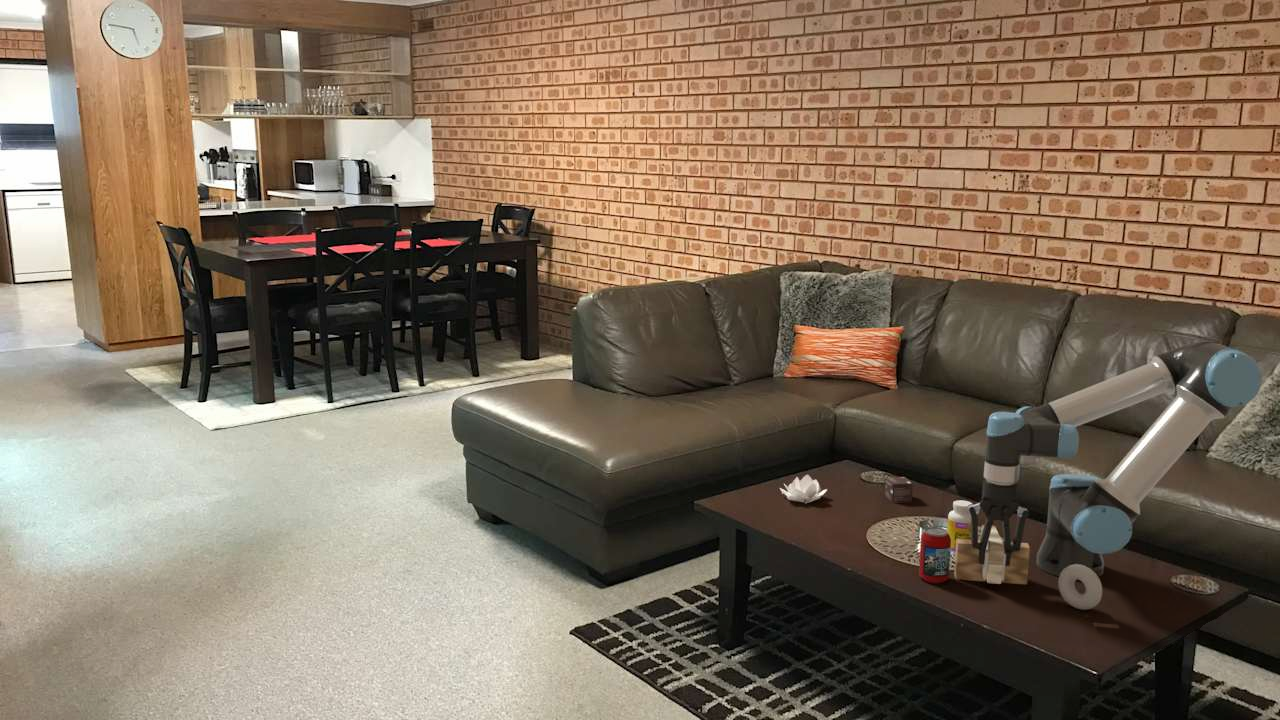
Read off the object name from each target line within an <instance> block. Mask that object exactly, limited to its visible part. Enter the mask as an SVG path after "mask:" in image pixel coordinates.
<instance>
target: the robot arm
mask: <svg viewBox="0 0 1280 720" xmlns="http://www.w3.org/2000/svg"><path fill="white" fill-rule="evenodd" d="M1262 379H1263V377H1262V370H1261V368H1260V366H1259V364H1258V362H1256V360H1255V359H1254V358H1252V356H1250V355H1248V354H1246V353H1245V352H1243V351H1241V350H1240V349H1237V348H1231V347H1230V346H1226V345H1225V344H1221V343H1219V342H1216V341H1212V340H1199V341H1194V342H1193V341H1192V342H1190V343H1187V344H1184V345H1181V346H1177V347H1175V348H1172V349H1170V350H1168V351H1167V350H1166V351H1165V352H1163V353H1160V354H1157V355H1155V356H1152V359H1151V360H1150V362H1149V363H1146V364H1144V365H1141V366H1139V367H1136V368H1134V369H1132V370H1129V371H1126V372H1124V373H1121V374H1119V375H1116V376H1114V377H1111V378H1108V379H1106V380H1103V381H1101V382H1098V383H1095V384H1093V385H1091V386H1088V387H1086V388H1083V389H1081V390H1077V391H1075V392H1073V393H1070V394H1068V395H1064V396H1063V397H1061V398H1058V399H1056V400H1052V401H1050V402H1048V403H1045V404H1042V405H1040V406H1037V407H1034V406H1029V405H1027V406H1026V405H1025V406H1023V407H1020V408H1019V409H1017V410H1016V412H1011V411H1010V412H1009V411H996V412H992V413H991V414H990V415H989V417H988V422H987V428H986V432H985V433H986V437H985V438H986V440H985V442H986V443H985V458H984V466H983V467H984V468H983V481H982V491H981V492H982V493H981V498H980V499H979V502H978V503H975V504H973V503H972V504H973V505H972V504H970V505H968V509H969V511H970V514H971V543H972V546H973V548H975V549H978V550H979V558H978V560H979V563H980V564H983V568H982V576H983V579H986V580H987V572H988V560H989V551H988V549H986V548H987V544H988V540H989V536H990V532H991V528H992V526H994V521H1001V523H1002V524H1001V525H1002V534H1003V535H1002V537H1003V542H1004V548H1005V550H1004V556H1003V569H1002V581H1004V574H1005V566H1009V565H1010V558H1011V554H1012V552H1014V551H1017V552H1018V551H1019V550H1020V546H1021V543H1022V541H1023V540H1022V539H1023V534H1024V528H1025V524H1026V520H1027V519H1028V517H1029V515H1030V511H1028V508H1027V507H1022V506H1020V505H1019V503H1018V501H1017V500H1018V499H1017V498H1018V490H1019V484H1018V481H1019V480H1020V479H1019V478H1020V476H1019V475H1020V464H1021V457H1035V458H1036V457H1037V458H1038V457H1039V458H1058V459H1060V458H1072V457H1074V456H1076V454H1077V453H1078V450H1079V446H1080V445H1079V444H1080V442H1079V441H1080V438H1079V432H1078V429H1077V427H1080V426H1081V425H1082V426H1083V424H1087V423H1089V422H1092V421H1095V420H1097V419H1100V418H1102V417H1105V416H1107V415H1110V414H1113V413H1115V412H1118V411H1121V410H1123V409H1126V408H1129V407H1132V406H1134V405H1137V404H1138V403H1141V402H1143V401H1146V400H1149V399H1152V398H1154V397H1157V396H1159V395H1163V394H1168V395H1175V394H1176V397H1175V398H1174V399H1173V400H1172V401H1171V402H1170V403H1169V404H1168V406H1166V408H1165V409H1164V410H1163V412H1162V413H1161V414H1160V415H1159V416H1158V417H1157V418H1156V420H1155V421H1154V422H1153V423H1152V425H1151V426H1150V427H1149V428H1148V429H1147V430H1146V431H1145V432H1144V434H1143V435H1142V436H1141V437H1140V439H1139V440H1138V441H1137V442H1136V443H1135V444H1134V445H1133V447H1132V448H1131V449H1130V450H1129V451H1128V452H1127V454H1126V455H1125V456H1124V457H1123V458H1122V459H1121V461H1119V463H1118V464H1117V465H1116V466H1115V468H1114V469H1113V470H1112V471H1111V472H1110V474H1109V475H1108V476H1107V477H1106V478H1103V479H1101V478H1100V477H1098V476H1093V475H1087V474H1077V473H1063V474H1061V473H1060V474H1055V475H1054V476H1052V478H1051V480H1050V484H1049V485H1050V486H1049V488H1048V490H1049V493H1048V494H1049V495H1048V496H1049V497H1048V507H1047V508H1048V509H1047V520H1046V521H1047V522H1046V533H1045V536H1044V538H1043V541H1041V542H1042V543H1041V544H1040V546H1039V549H1038V551H1037V553H1036V562H1035V563H1036V566H1037V568H1039V569H1040V570H1042V571H1043V572H1046V573H1048V574H1050V575H1053V576H1058V577H1059V576H1060V574H1061V572H1062V571H1063V569H1065V568H1066V567H1068V566H1069V565H1074V564H1079V565H1084V566H1086V567H1088V568H1090V569H1091V570H1092V571H1093V572H1094V573H1096V575H1097V576H1098V578H1100V577H1101V576H1103V575H1104V571H1105V570H1104V569H1105V562H1104V557H1103V555H1105V554H1107V555H1108V554H1113V553H1115V552H1118V551H1120V550H1122V549H1123V548H1124V547H1125V546H1126V545H1127V544H1128V543H1129V542H1130V539H1131V538H1132V535H1133V523H1134V521H1136V519H1137V518H1139V516H1140V515H1141V508H1140V504H1141V502H1142V501H1143V500H1144V499H1145V498H1146V496H1147V495H1148V494H1149V493H1150V492H1151V490H1152V489H1154V487H1155V486H1156V485H1157V483H1158V482H1160V480H1161V479H1162V478H1163V477H1164V476H1165V475H1166V473H1168V471H1169V470H1170V469H1171V468H1172V466H1173V465H1174V464H1175V463H1176V462H1177V460H1179V458H1180V457H1181V456H1182V455H1184V453H1185V452H1186V450H1187V449H1188V448H1189V447H1190V446H1191V445H1192V444H1193V442H1194V441H1195V440H1197V437H1199V435H1200V434H1202V432H1203V431H1204V430H1205V429H1206V427H1207V426H1208V425H1209V424H1210V422H1212V421H1214V420H1219V419H1225V417H1226V416H1227V415H1228V414H1229V413H1230V412H1231V410H1232V409H1233V408H1235V407H1236V408H1237V407H1241V406H1245V405H1247V404H1250V402H1252V401H1253V400H1254V399H1255V398H1256V397H1257V395H1258V394H1259V392H1260V390H1261V387H1262V381H1263V380H1262ZM980 510H982V512H983V513H984V515H985V519H984V523H983V525H984V528H983V532H982V536H981V535H980V539H979V529H978V528H979V526H978V525H979V524H978V523H979V522H978V521H979V520H978V515H979V513H980ZM1015 513H1016V515H1017V518H1016V519H1017V520H1016V524H1015V525H1016V526H1015V530H1014V536H1013V541H1011V540H1012V539H1011V529H1010V518H1011V517H1012V516H1013V515H1014V514H1015ZM978 540H980V543H979V542H978ZM1011 542H1013V544H1012V545H1011Z"/></svg>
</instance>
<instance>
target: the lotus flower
mask: <svg viewBox="0 0 1280 720" xmlns="http://www.w3.org/2000/svg"><path fill="white" fill-rule="evenodd" d="M783 485H784V487H785V489H786V490H785V489H783V488H781V487H779V489H780V491H781V494H782V495H783V494H784V495H785V496H786V499H787V500H788V501H793V502H798V503H804V504H807V503H811V502H815V501H817V500H819V499H821V497H822V496H824V494H826V492H827V491H828V488H826V489H823V490H821V489H822V487H820V484H819V482H818V479H813V478H812V477H811V476H810V475H809V474H806V475H804V476H803V477H802V478H801V479H799V477H798V476H796V477H795V479H793V481H792V482H791V483H789V485H786V484H785V483H783Z"/></svg>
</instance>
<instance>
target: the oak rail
mask: <svg viewBox="0 0 1280 720" xmlns="http://www.w3.org/2000/svg"><path fill="white" fill-rule="evenodd" d="M980 540H981V539H978V542H979V543H980ZM1002 543H1003V545H1004V541H1002ZM1012 544H1013V541H1011V545H1012ZM1030 549H1031V548H1030V545H1029V543H1028V542H1021V546H1020V550H1019V551H1018V552H1017V551H1014V552H1012V554H1011V558H1010V565H1009V566H1005V574H1004V581H1001V584H1002V583H1003V584H1013V585H1014V584H1016V585H1028V576H1029V564H1030V563H1029V562H1030V552H1031V551H1030ZM1004 550H1005V548H1004ZM954 558H955V559H954V578H955V580H960V579H961V580H962V581H974V582H985V581H986V582H987V580H986V579H983V576H982V568H983V564H980V563H979V560H978V558H979V550H978V549H975V548H973V546H972V543H971V540H969V539H957V541H956V554H955V557H954ZM961 580H960V581H961Z"/></svg>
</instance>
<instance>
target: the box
mask: <svg viewBox="0 0 1280 720" xmlns="http://www.w3.org/2000/svg"><path fill="white" fill-rule="evenodd" d="M913 485H914V483H913V482H912V481H911V480H910V479H908V478H907V477H906V476H894V477H885V491H884V496H885V497H886V499H888V500H889V501H890V502H891V503H892V504H895V503H911V502H912V501H913V491H914V490H913V489H914V487H913Z"/></svg>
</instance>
